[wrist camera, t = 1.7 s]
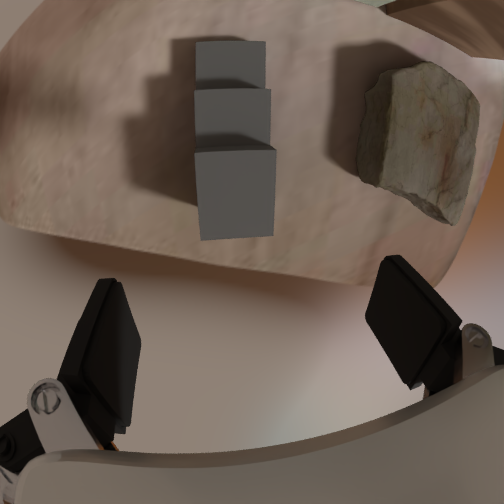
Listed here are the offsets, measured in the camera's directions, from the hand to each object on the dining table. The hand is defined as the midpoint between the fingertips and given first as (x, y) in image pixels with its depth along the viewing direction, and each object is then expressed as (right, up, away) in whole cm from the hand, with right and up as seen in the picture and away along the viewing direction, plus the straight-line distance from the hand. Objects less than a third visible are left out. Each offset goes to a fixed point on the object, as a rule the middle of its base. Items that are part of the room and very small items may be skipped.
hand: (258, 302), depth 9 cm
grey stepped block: (-2, +12, +11) cm, 16 cm away
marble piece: (+17, +13, +14) cm, 25 cm away
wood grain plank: (+19, +25, +6) cm, 32 cm away
